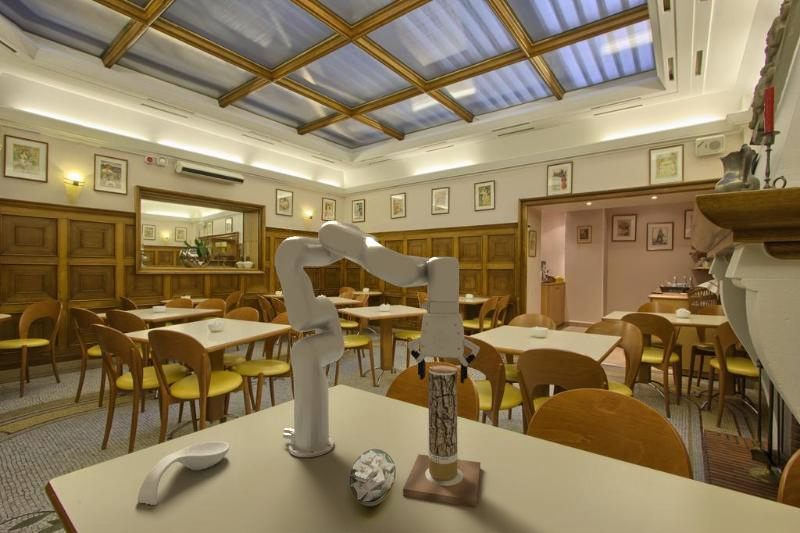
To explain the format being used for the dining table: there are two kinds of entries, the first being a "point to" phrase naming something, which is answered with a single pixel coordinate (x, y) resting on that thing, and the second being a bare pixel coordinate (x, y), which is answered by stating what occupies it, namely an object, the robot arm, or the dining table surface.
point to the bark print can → (442, 422)
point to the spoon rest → (190, 457)
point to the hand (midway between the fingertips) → (442, 379)
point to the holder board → (444, 483)
